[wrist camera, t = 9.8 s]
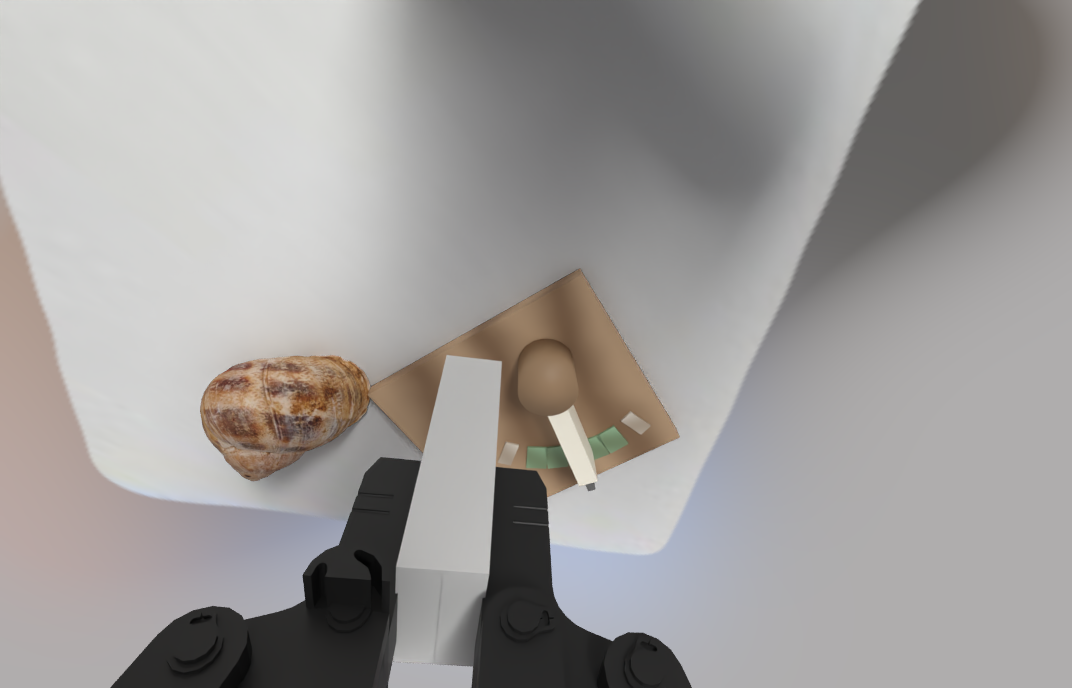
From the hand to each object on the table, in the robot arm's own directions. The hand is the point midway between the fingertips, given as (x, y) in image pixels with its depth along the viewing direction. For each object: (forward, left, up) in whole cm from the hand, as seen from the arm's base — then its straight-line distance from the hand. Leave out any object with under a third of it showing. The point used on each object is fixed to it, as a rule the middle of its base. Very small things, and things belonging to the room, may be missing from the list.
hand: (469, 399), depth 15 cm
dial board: (+8, +17, -24) cm, 31 cm away
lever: (+5, +17, -23) cm, 29 cm away
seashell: (+24, +5, -25) cm, 34 cm away
